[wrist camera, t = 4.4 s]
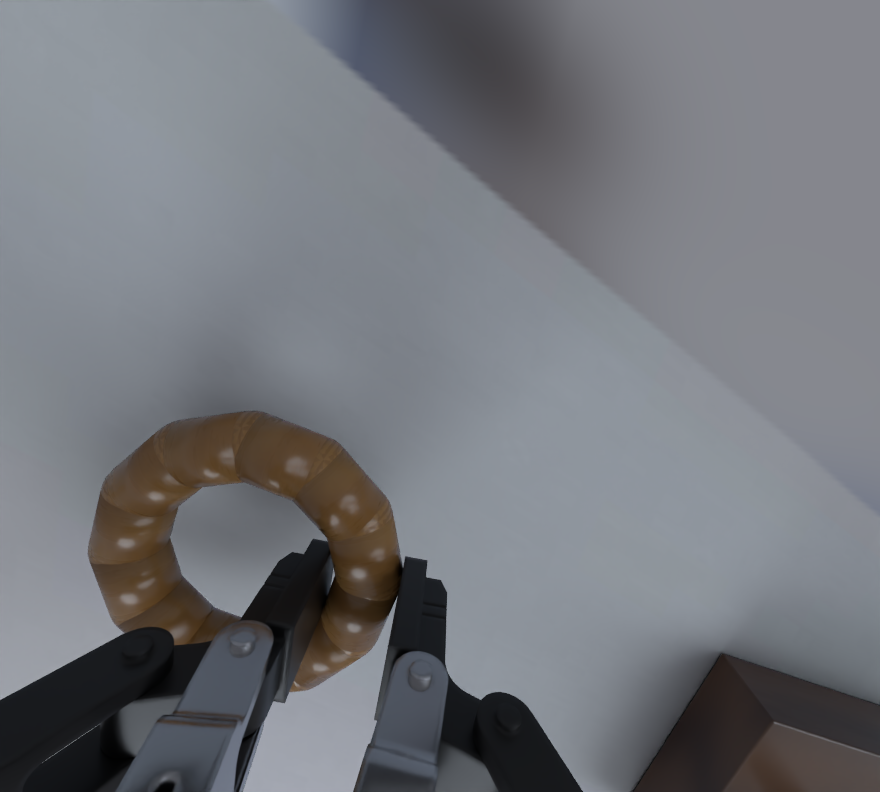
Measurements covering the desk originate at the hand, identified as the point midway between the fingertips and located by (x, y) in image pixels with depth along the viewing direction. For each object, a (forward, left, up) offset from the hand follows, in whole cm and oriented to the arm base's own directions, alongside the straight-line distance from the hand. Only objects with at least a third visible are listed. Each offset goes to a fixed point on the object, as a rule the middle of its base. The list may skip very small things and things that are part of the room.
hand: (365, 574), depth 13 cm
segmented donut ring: (+1, -4, 0) cm, 4 cm away
